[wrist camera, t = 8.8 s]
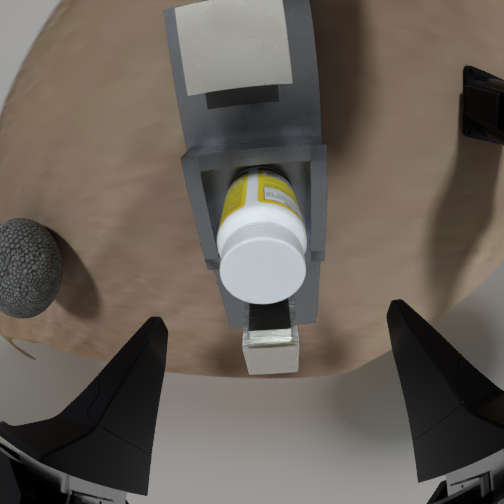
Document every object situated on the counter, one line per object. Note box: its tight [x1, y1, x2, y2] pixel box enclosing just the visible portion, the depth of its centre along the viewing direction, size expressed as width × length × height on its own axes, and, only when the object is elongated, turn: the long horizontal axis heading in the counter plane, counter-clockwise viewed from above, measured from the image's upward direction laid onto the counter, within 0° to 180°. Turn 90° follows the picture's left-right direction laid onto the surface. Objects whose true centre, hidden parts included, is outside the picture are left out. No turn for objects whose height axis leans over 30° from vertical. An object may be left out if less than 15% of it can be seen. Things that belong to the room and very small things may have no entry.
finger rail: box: [164, 0, 327, 375], centre depth 17 cm, size 9×29×8 cm, turn 6°
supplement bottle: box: [217, 167, 307, 304], centre depth 16 cm, size 5×5×8 cm
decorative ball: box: [0, 218, 62, 318], centre depth 20 cm, size 10×10×10 cm
